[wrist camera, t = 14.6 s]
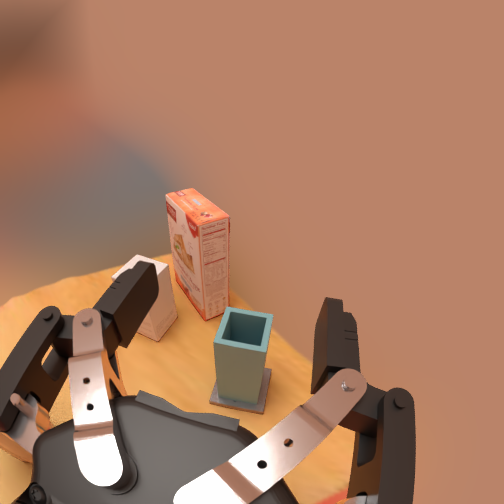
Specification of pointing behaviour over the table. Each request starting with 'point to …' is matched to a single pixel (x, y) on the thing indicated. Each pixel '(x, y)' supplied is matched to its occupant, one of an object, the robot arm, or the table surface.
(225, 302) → the cracker box
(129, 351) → the table surface
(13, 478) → the table surface
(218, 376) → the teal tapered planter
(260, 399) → the plate
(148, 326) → the supplement box
